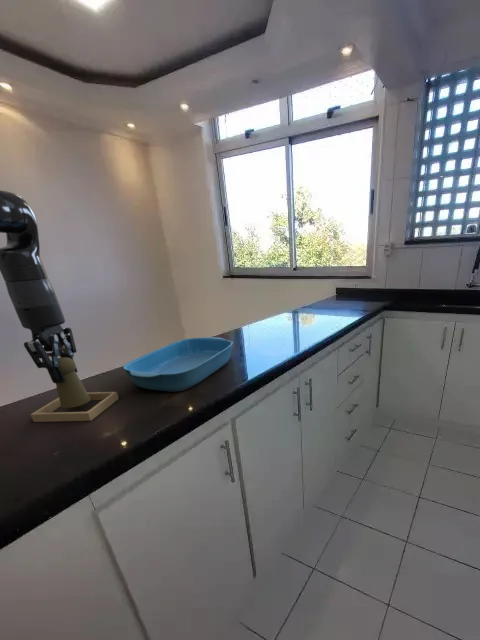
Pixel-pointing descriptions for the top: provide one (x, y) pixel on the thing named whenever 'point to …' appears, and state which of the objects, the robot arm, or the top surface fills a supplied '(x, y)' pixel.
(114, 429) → the top surface
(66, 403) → the olive knobbed cone
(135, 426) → the top surface
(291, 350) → the top surface
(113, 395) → the wooden frame
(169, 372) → the casserole dish
